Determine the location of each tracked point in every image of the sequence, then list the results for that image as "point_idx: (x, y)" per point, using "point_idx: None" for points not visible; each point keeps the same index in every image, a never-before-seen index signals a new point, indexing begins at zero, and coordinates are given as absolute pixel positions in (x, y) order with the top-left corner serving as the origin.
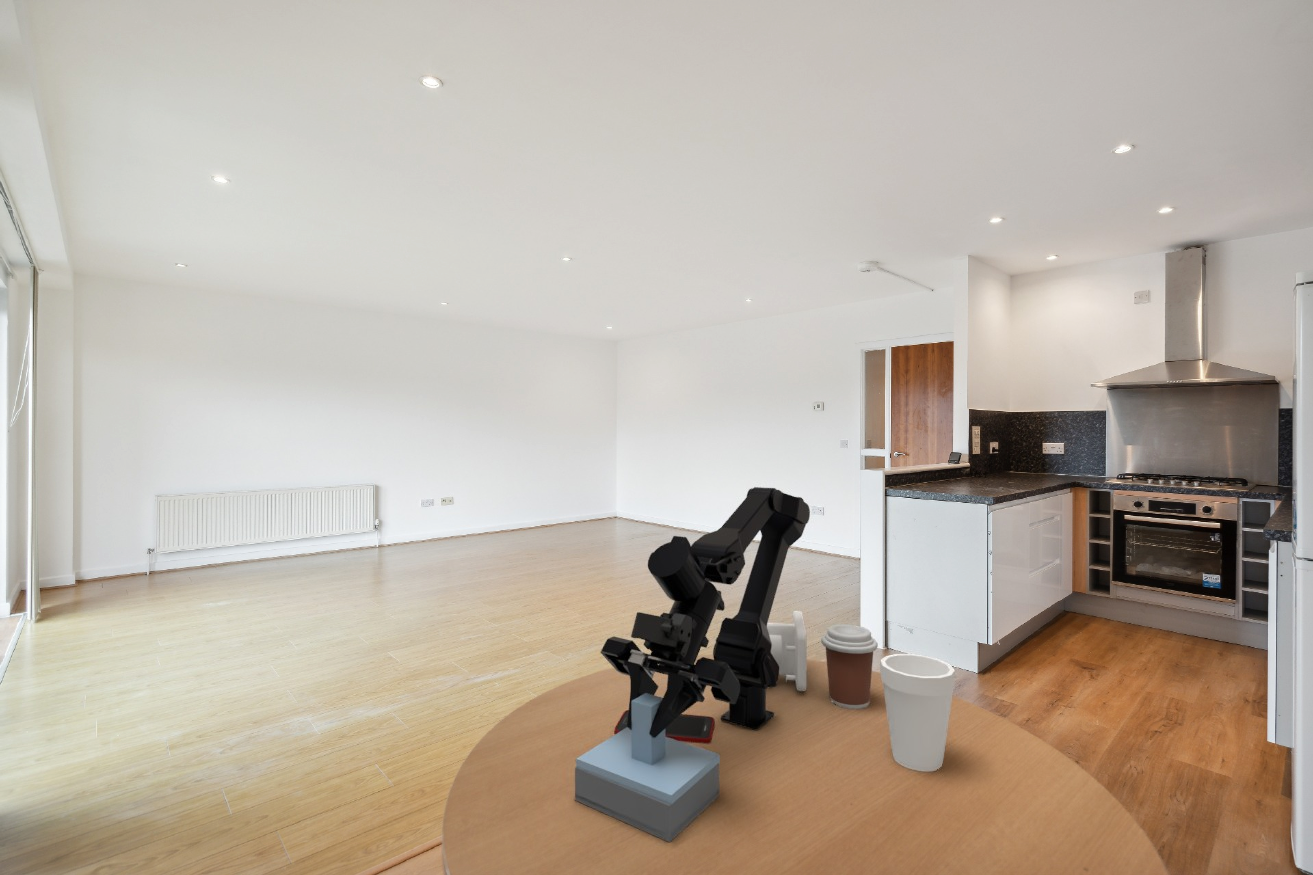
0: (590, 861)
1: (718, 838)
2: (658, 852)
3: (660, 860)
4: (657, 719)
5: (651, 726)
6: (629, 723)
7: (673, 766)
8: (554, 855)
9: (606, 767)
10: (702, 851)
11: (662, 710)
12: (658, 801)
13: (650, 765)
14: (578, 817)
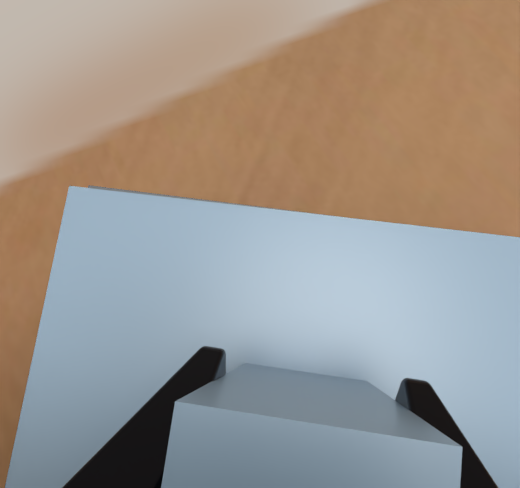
0: (293, 54)
1: (11, 300)
2: (145, 166)
3: (127, 141)
4: (158, 415)
5: (208, 373)
6: (414, 392)
7: (146, 400)
8: (394, 28)
9: (426, 247)
10: (37, 225)
11: (99, 475)
12: (137, 192)
13: (248, 357)
14: (445, 194)
